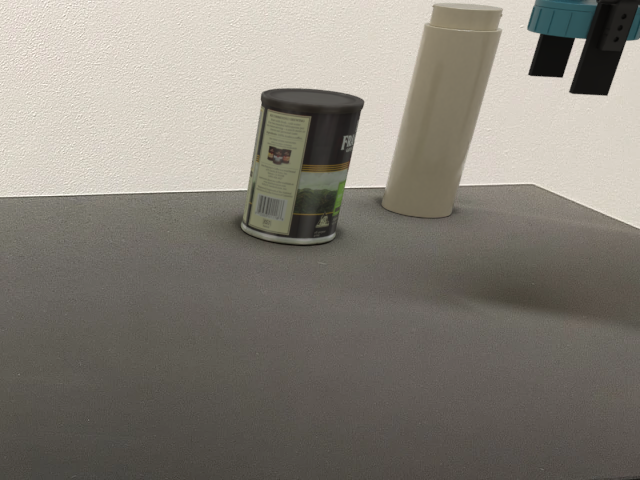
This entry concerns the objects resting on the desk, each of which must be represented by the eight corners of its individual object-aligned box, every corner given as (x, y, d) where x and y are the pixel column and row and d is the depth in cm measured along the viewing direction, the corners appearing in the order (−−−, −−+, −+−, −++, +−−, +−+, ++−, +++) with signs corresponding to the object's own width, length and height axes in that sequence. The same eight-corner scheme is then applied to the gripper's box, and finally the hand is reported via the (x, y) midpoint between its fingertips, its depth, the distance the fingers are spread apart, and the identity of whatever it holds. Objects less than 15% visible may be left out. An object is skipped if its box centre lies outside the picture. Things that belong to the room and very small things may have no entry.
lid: (526, 34, 77) (535, 1, 76) (526, 25, 84) (535, -6, 83) (644, 44, 74) (656, 9, 73) (635, 33, 81) (646, 2, 80)
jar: (452, 205, 118) (508, 6, 106) (449, 221, 112) (508, 12, 100) (384, 196, 121) (431, 1, 109) (377, 211, 114) (426, 6, 103)
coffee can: (336, 224, 109) (365, 92, 102) (333, 250, 101) (364, 109, 94) (245, 213, 112) (266, 83, 105) (234, 238, 104) (256, 99, 96)
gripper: (820, -271, 60) (673, 111, 72) (657, -233, 78) (561, 68, 90) (695, -275, 61) (570, 105, 72) (561, -236, 79) (479, 63, 90)
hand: (565, 84), depth 81 cm, fingers closed on lid, 8 cm apart
